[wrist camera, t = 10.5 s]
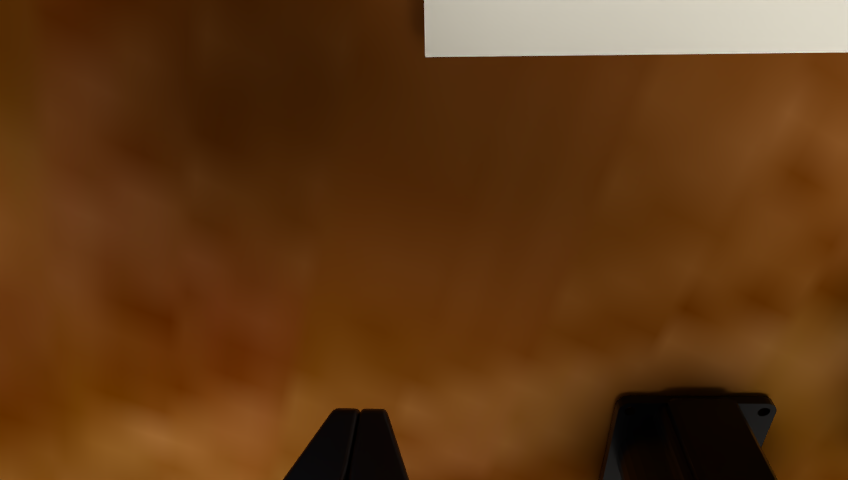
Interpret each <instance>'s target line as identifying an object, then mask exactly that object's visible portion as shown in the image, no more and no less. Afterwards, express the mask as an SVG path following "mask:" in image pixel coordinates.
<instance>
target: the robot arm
mask: <svg viewBox="0 0 848 480" xmlns="http://www.w3.org/2000/svg"><path fill="white" fill-rule="evenodd" d="M628 407H630V408H628ZM775 414H776V407H775V405H774V404H773V402H772V400H771V399H770V398H768V397H764V396H624V397H622V398H620V399H619V400H618V401H617V402H616V405H615V410H614V414H613V419H612V424H611V428H610V433H609V437H608V442H607V447H606V451H605V456H604V460H603V465H602V470H601V474H600V479H599V480H777V478H776V476H775V474H774V472H773V470H772V468H771V466H770V464H769V462H768V460H767V458H766V457H765V455H764V453H763V451H762V449H761V446H762V444H763V442H764V439H765V437H766V435H767V432H768V430H769V428H770V425H771V423H772V421H773V418H774V416H775ZM283 480H409V478H408V475H407V472H406V469H405V466H404V463H403V460H402V457H401V454H400V450H399V447H398V444H397V441H396V438H395V435H394V432H393V429H392V426H391V423H390V419H389V416H388V413H387V412H386V410H384V409H363V410H362V411H361V412H360V411H359V410H358V409H351V408H338V409H335V410H333V411H332V412H331V414H330V415H329V416H328V418H327V419H326V420H325V422H324V423H323V425H322V426H321V427H320V429H319V430H318V432H317V433H316V434H315V436H314V437H313V439H312V440H311V441H310V443H309V444H308V446H307V447H306V448H305V450H304V451H303V453H302V454H301V455H300V457H299V458H298V459H297V461H296V462H295V464H294V465H293V466H292V468H291V469H290V471H289V472H288V473H287V475H286V476H285V478H284V479H283Z"/></svg>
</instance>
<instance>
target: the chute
mask: <svg viewBox="0 0 848 480" xmlns="http://www.w3.org/2000/svg"><path fill="white" fill-rule="evenodd" d="M424 25H425V57H476V56H563V55H650V54H737V53H824V52H848V0H424Z"/></svg>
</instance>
